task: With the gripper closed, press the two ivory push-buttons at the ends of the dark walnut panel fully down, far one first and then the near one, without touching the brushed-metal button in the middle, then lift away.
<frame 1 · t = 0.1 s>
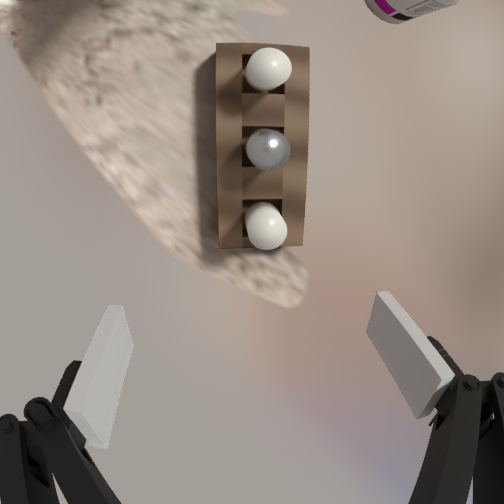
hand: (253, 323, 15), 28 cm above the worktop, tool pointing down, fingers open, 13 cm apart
supplement can: (383, 3, 29), on the worktop
outer button: (264, 225, 35), point 7 cm above the worktop, slide at 0.0 cm
inner button: (266, 70, 28), point 7 cm above the worktop, slide at 0.0 cm
middle knob: (266, 148, 31), point 7 cm above the worktop, slide at 0.0 cm
button panel: (258, 144, 37), on the worktop
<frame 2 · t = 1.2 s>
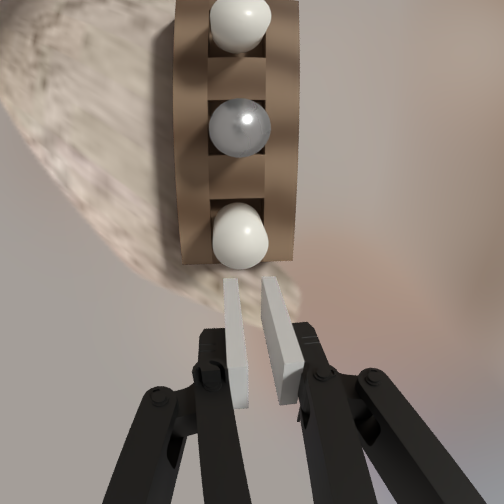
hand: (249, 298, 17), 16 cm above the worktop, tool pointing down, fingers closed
outer button: (238, 234, 26), point 7 cm above the worktop, slide at 0.0 cm
inner button: (238, 23, 18), point 7 cm above the worktop, slide at 0.0 cm
middle knob: (238, 127, 22), point 7 cm above the worktop, slide at 0.0 cm
button panel: (234, 126, 28), on the worktop
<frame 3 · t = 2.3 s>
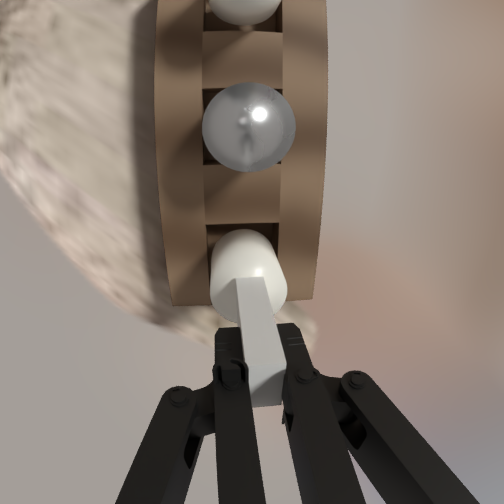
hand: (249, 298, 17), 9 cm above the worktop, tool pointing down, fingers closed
outer button: (245, 274, 19), point 7 cm above the worktop, slide at 0.0 cm, touching gripper
middle knob: (245, 126, 15), point 7 cm above the worktop, slide at 0.0 cm
button panel: (238, 125, 21), on the worktop
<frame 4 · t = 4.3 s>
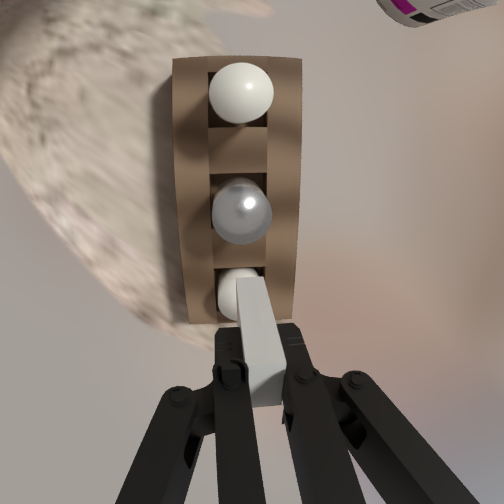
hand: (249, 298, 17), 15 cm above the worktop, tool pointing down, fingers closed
supplement can: (397, 0, 22), on the worktop
outer button: (240, 290, 30), point 4 cm above the worktop, slide at 2.5 cm
inner button: (239, 95, 20), point 7 cm above the worktop, slide at 0.0 cm
middle knob: (240, 208, 24), point 7 cm above the worktop, slide at 0.0 cm
button panel: (236, 191, 30), on the worktop
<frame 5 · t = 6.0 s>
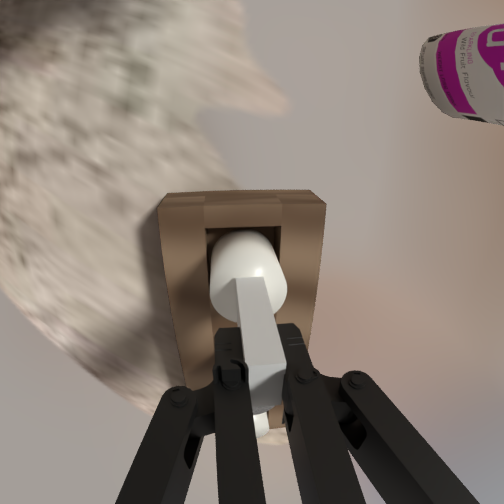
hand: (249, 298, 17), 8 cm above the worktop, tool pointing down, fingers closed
supplement can: (445, 76, 19), on the worktop
outer button: (245, 413, 28), point 4 cm above the worktop, slide at 2.5 cm
inner button: (245, 273, 19), point 6 cm above the worktop, slide at 0.9 cm, touching gripper
middle knob: (247, 378, 22), point 7 cm above the worktop, slide at 0.0 cm
button panel: (241, 326, 28), on the worktop
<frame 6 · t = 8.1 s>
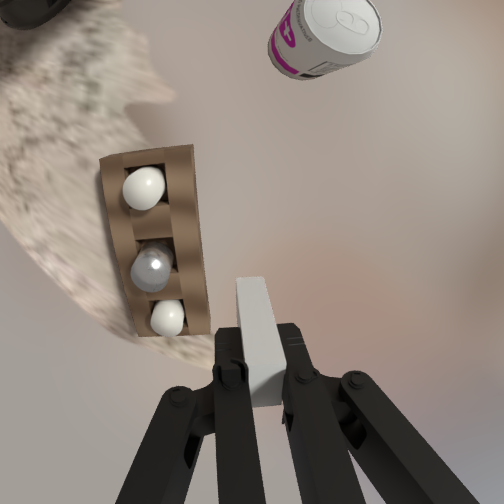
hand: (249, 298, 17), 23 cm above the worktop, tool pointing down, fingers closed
supplement can: (298, 51, 31), on the worktop
outer button: (168, 314, 40), point 4 cm above the worktop, slide at 2.5 cm
inner button: (146, 186, 32), point 4 cm above the worktop, slide at 2.5 cm
middle knob: (152, 266, 34), point 7 cm above the worktop, slide at 0.0 cm
button panel: (162, 243, 40), on the worktop
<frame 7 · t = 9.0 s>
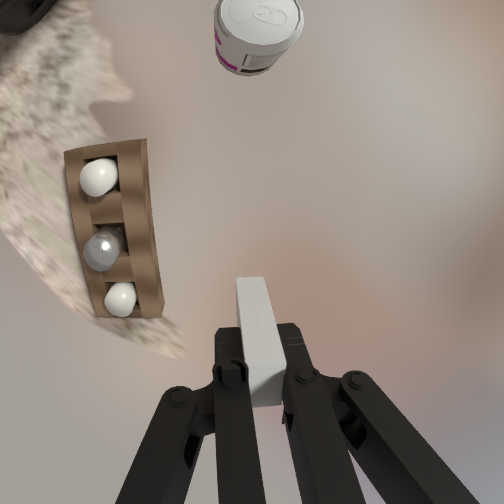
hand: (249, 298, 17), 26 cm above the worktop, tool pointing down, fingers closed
supplement can: (246, 49, 33), on the worktop
outer button: (122, 296, 41), point 4 cm above the worktop, slide at 2.5 cm
inner button: (101, 175, 34), point 4 cm above the worktop, slide at 2.5 cm
middle knob: (104, 248, 35), point 7 cm above the worktop, slide at 0.0 cm
button panel: (119, 230, 41), on the worktop
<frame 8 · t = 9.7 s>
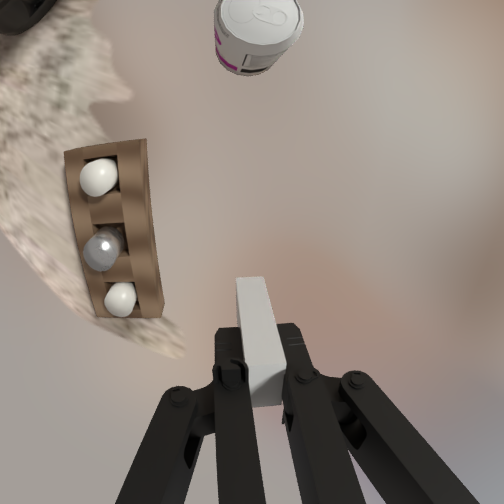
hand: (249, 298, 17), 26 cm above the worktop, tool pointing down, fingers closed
supplement can: (246, 49, 33), on the worktop
outer button: (122, 296, 41), point 4 cm above the worktop, slide at 2.5 cm
inner button: (101, 175, 34), point 4 cm above the worktop, slide at 2.5 cm
middle knob: (104, 248, 35), point 7 cm above the worktop, slide at 0.0 cm
button panel: (119, 230, 41), on the worktop
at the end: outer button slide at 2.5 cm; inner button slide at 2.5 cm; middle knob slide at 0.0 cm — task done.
